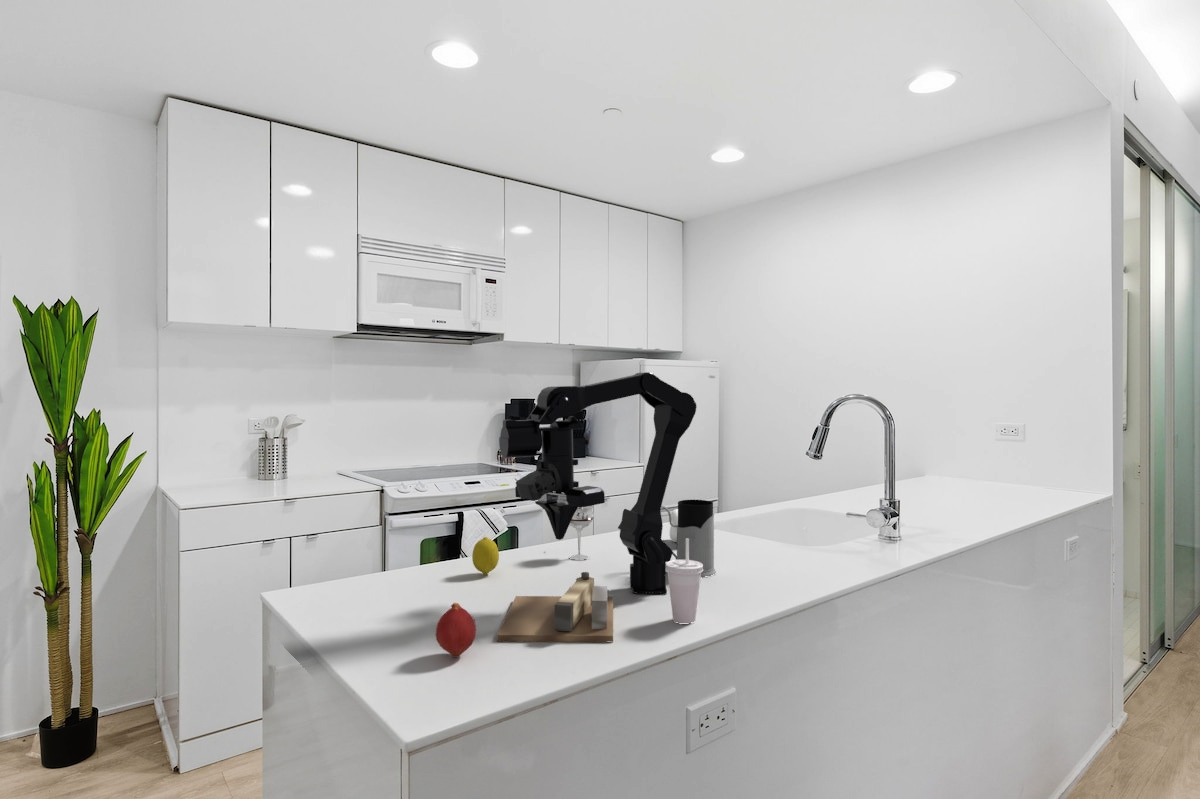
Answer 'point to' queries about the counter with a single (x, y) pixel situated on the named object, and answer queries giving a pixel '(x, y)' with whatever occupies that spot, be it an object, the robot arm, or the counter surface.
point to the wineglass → (581, 525)
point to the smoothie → (684, 587)
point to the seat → (537, 619)
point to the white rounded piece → (675, 522)
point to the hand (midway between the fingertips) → (559, 539)
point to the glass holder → (696, 533)
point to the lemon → (485, 555)
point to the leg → (573, 604)
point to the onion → (456, 630)
